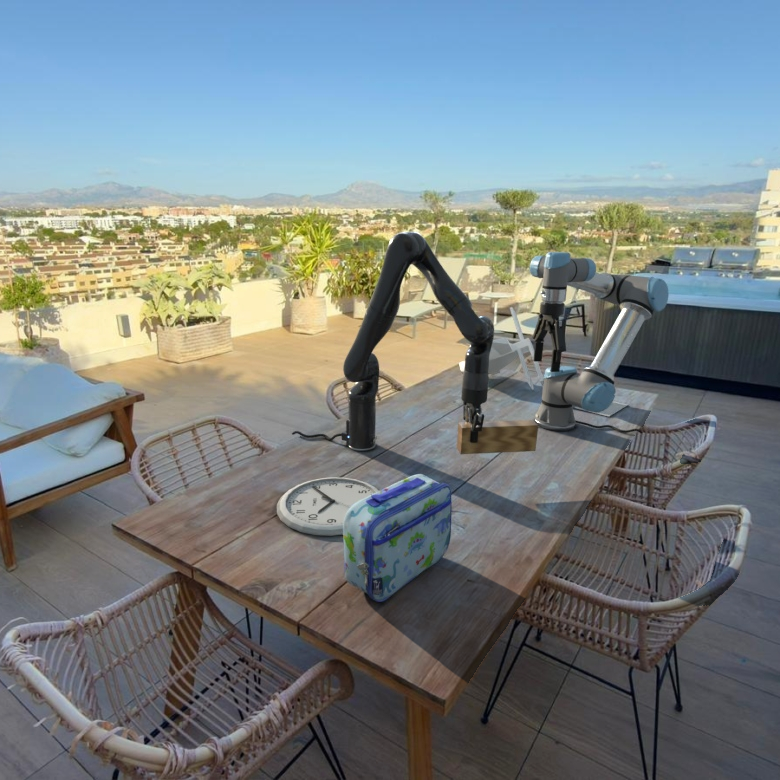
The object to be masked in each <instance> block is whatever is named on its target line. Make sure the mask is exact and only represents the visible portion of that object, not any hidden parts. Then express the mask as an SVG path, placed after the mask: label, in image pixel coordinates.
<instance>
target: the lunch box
mask: <svg viewBox="0 0 780 780" xmlns="http://www.w3.org/2000/svg"><path fill="white" fill-rule="evenodd" d="M379 490H380V491H378V492H376V493H374V494H372V495H370V496H368V497H366V498H364V499H362V500H360V501H358V502H356V503H354V504H353V505H352V506H351V507H350V508H349V510H348V511H347V513H346V515H345V518H344V523H343V535H342V542H343V566H344V576H345V580H346V582H347V583H348V584H350V585H352V586H354V587H356V588H358V589H359V590H360V591H362V592H363V593H365V594H366V595H367V596H368V597H369V598H370V599H371V600H373V601H375V602H378V603H382V602H384V601H386V600H388V599H389V598H390V597H392V596H393V595H394V594H395V593H396V592H398V591H399V590H400V589H402V588H403V587H405V586H406V585H408V584H409V583H410V582H411V581H413V580H414V579H415V578H417V577H418V576H419V575H420V574H421V573H423V572H425V570H427V569H429V568H431V567H432V566H434V565H435V564H436V563H438V562H439V561H441V559H442V558H443V557H444V556H445V554H446V553H447V550H448V548H449V546H450V543H451V537H452V536H451V535H452V515H453V514H452V511H453V510H452V509H453V508H452V507H453V505H452V490H451V487H450V485H449V484H448V483H445V482H438V481H436V480H435V479H432V478H431V477H428V476H427V475H426V474H425V475H424V474H422V473H417V474H413V475H411V476H408V477H406V478H404V479H402V480H399V481H397V482H395V483H392V484H391V485H388V486H386V487H385V488H382V489H379Z"/></svg>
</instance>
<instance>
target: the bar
mask: <svg viewBox="0 0 780 780" xmlns="http://www.w3.org/2000/svg"><path fill="white" fill-rule="evenodd" d="M534 421H535V420H533V419H525V420H524V419H521V420H520V419H519V420H518V419H517V420H516V419H515V420H489V421H488V420H487V421H483V426H482V431H481V432H480V431H478V442H477V443H471V442H470V433H471V424H470V423H469V422H465V421H459V422H457V423H458V424H457V435H456V437H457V438H456V449H457V451H458V453H459V454H460V455H476V454H479V455H480V454H503V453H520V452H521V453H522V452H523V453H524V452H536V451H537V441H538V431H539V426H538V425H537V424H536V423H535V422H534ZM476 427H477V426H476Z"/></svg>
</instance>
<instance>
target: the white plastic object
mask: <svg viewBox="0 0 780 780" xmlns="http://www.w3.org/2000/svg"><path fill="white" fill-rule="evenodd" d="M509 310H510V313H511V317H512V319H513V320H512V321H513V323H514V326H515V329H516V332H517V334H518V339H519V340H518V341H516V342H514V343H511V342H510V341H509V339H508V337H507V336H505V337H499V338H495V339H493V343H492V347H491V351H490V355H489V370H488V375H491V376H495V375H498V374H500V373H501V370H502V369H505V367H507V366H509V364H511V363H512V362H514V361H515V360H517V359H518V358H519V361H520V365H521V368H522V370H523V374H524V377H525V380H526V384H527V385H528V386H529V387H530V389H531V390H532V391H534V384H533V380H532V378H531V374H530V371H529V368H528V365H527V361H526V358H525V356H524V355H525V354H527V353H530V357H531V359H532V362H533V366H534V368H535V371H536V374H537V377H538V380H539V383H540V384H541V386H542V387H543V380H544V379H543V378H544V375H543V373H542V370H541V367H540V363H539V361H533V359H534V349H535V347H534V345H533V343H532V341H531V339H530V338H529V337H526V338H525V336H524V334H523V331H522V327H521V324H520V321H519V319H518V316H517V312H516V311H515V309H514V307H513V306H511V307H509ZM458 365H459V369H460V372H461V374H462V375H463V374H464V365H465V360H463V361H461V362H458Z"/></svg>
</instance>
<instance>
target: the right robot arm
mask: <svg viewBox="0 0 780 780" xmlns="http://www.w3.org/2000/svg"><path fill="white" fill-rule="evenodd" d="M529 273H530V274H531V276H532V277H534V278H538V279H542V287H541V291H540V295H541V297H540V300H541V302H540V306H539V314H538V318H537V322H536V324H535V328H534V330H533V333H532V340H534V359H532V362H533V361H538V362H543V352H544V342H545V337H546V336H547V334H549V335H550V338H551V339H550V340H551V342H552V347H553V350H552V351H551V352H552V353H551V361H550V367H547V368H546V369H545V371H544V375H543V379H544V380H543V386H542V392H541V402H540V405H539V407H538V410H537V411H536V413H535V414H534V415H535V416H534V420H533V421H534V422H535V423H536V424H537V425H538V428H542V429H544V430H549V431H556V432H567V431H572V430H574V429H575V428H576V424H578V425H579V424H580V425H583V426H588V427H591V428H595V429H603V428H608V429H609V428H610V429H613V430H615V431H617V432H619V433H623V434H627V433H633V432H638V433H639V434H644V432H643V431H642V430H641V429H639V428H632V429H627V430H625V429H620V428H618V427H616V426H614V425H611V424H603V425H595V424H591V423H588V422H584V421H579V420H577V419H576V418H575V417H576V416H575V413H574V407H579V408H582V409H584V410H586V411H585V412H588V411H591V412H590V413H592V412H595V413H594V414H596V413H598V412H601V411H604V410H605V409H607V408H608V407H609V406H610V405H611V403H612V402H613V401H614V400H615V398H616V392H617V391H616V387H615V386H614V385H615V383H616V382H615V379H614V375H615V374H616V372H617V370H618V369H619V367H620V365H621V363H622V362H623V359H624V358H625V356H626V354H627V353H628V351H629V349H630V347H631V346H632V344H633V341H634V340H635V338H636V336H637V335H638V332H639V331H640V330H641V327H642V325H643V324H644V322H645V321H648V320H650V319H651V318H652V316H653V315H654V313H658V312H661V311H664V309H665V308H666V307H667V304H668V300H669V287H668V284H667V282H666V281H665V279H662V278H658V277H654V276H650V277H649V276H640V275H630V274H612V273H608V272H597V265H596V263H595V261H594V260H593V259H591V258H588V257H571V253H570V252H568V251H567V252H566V251H549V252H547V253H546V254H545V255H536V256H534V257H533V258H532V259H531V261H530V264H529ZM568 287H571V288H574V289H577V290H580V291H583V292H588V293H590V294H591V295H592V296H593V297H595V298H597V299H600V300H602V301H605V302H608V303H610V304H612V305H616V306H619V309H620V313H619V314H618V315H617V317H616V319H615V321H614V323H613V324H612V327H611V329H610V330H609V332H608V334H607V335H606V337H605V339H604V341H603V343H602V345H601V346H600V348H599V350H598V352H597V353H596V355H595V357H594V359H593V360H592V362H591V364H590V365H589V366H587V367H584V368H583V370H582V371H581V373H578V369H577V367H574V366H569V365H568V366H567V365H561V360H562V353H563V352H564V353H565V352H567V345H566V335H565V320H564V319H560V316H563V315H564V314H565V307H566V304H565V303H564V302H566V299H567V292H568ZM573 406H574V407H573ZM584 410H583V411H584Z"/></svg>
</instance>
